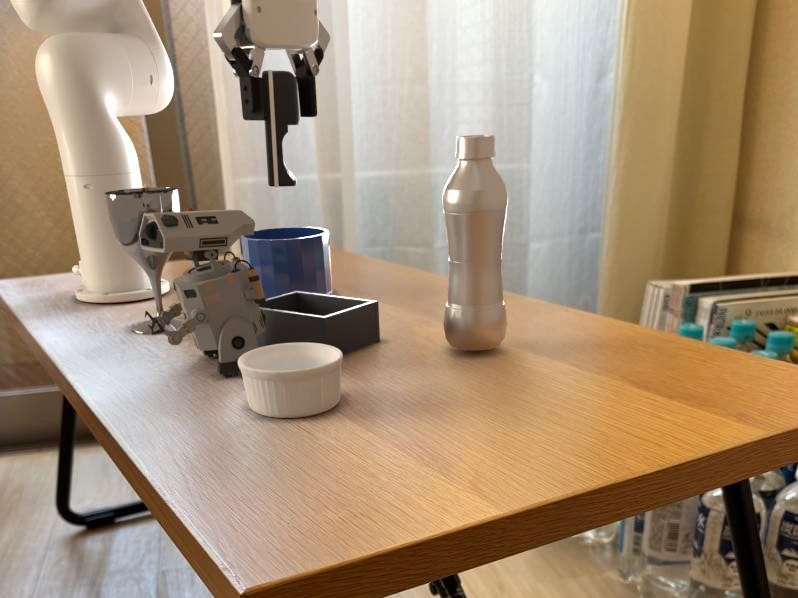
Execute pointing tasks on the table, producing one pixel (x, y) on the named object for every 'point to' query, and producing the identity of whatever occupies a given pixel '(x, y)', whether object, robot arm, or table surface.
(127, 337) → the table surface
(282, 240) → the cup
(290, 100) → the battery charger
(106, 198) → the wine glass
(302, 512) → the table surface
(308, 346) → the ramekin
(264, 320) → the figurine
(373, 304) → the bin
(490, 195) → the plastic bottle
